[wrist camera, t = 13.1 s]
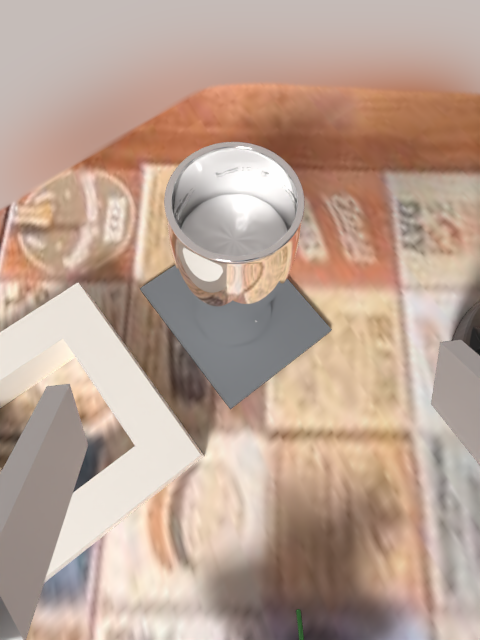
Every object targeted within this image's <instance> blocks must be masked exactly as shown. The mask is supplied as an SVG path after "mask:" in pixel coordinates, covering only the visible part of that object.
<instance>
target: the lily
mask: <svg viewBox="0 0 480 640" xmlns="http://www.w3.org/2000/svg"><path fill="white" fill-rule="evenodd" d="M296 614H297V623H298V633H299V640H304V636H303V626H302V618H301V611H300V610H299V609H297V610H296Z"/></svg>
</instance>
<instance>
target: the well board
mask: <svg viewBox="0 0 480 640" xmlns="http://www.w3.org/2000/svg"><path fill="white" fill-rule="evenodd" d="M75 357H76V359H77V360H78V362H79V363H80V364H81V366H82V367H83V369H84V370H85V372H86V373H87V375H88V376H89V378H90V379H91V381H92V382H93V384H94V385H95V387H96V388H97V390H98V391H99V393H100V394H101V396H102V397H103V399H104V400H105V402H106V403H107V405H108V406H109V408H110V409H111V411H112V412H113V414H114V415H115V417H116V418H117V420H118V421H119V423H120V424H121V426H122V427H123V429H124V430H125V432H126V433H127V435H128V436H129V438H130V439H131V441H132V442H133V444H134V445H135V446H134V447H133V448H132V449H130V450H129V451H128V452H126V453H125V454H124V455H122V456H121V457H120V458H118V459H117V460H116V461H114V462H113V463H112V464H110V465H109V466H108V467H106V468H105V469H104V470H102V471H101V472H100V473H99V474H97V475H96V476H95V477H93V478H92V479H91V480H89V481H88V482H87V483H85V484H84V485H83V486H81V487H80V488H79V489H77V490H76V491H75V492H73V494H72V497H71V500H70V503H69V506H68V510H67V513H66V516H65V519H64V522H63V525H62V528H61V531H60V535H59V538H58V541H57V544H56V547H55V550H54V553H53V556H52V560H51V563H50V566H49V569H48V572H47V575H46V578H45V581H44V583H45V582H46V581H47V580H48V579H50V578H51V577H52V576H54V575H55V574H56V573H57V572H59V571H60V570H61V569H62V568H64V567H65V566H66V565H67V564H69V563H70V562H71V561H72V560H74V559H75V558H76V557H77V556H79V555H80V554H81V553H83V552H84V551H85V550H86V549H88V548H89V547H90V546H91V545H93V544H94V543H95V542H96V541H98V540H99V539H100V538H101V537H103V536H104V535H105V534H107V533H108V532H109V531H110V530H112V529H113V528H114V527H115V526H117V525H118V524H119V523H120V522H122V521H123V520H124V519H125V518H127V517H128V516H129V515H130V514H132V513H133V512H134V511H136V510H137V509H138V508H139V507H141V506H142V505H143V504H144V503H146V502H147V501H148V500H149V499H151V498H152V497H153V496H154V495H156V494H157V493H158V492H160V491H161V490H162V489H163V488H165V487H166V486H167V485H168V484H170V483H171V482H172V481H173V480H175V479H176V478H177V477H178V476H180V475H181V474H182V473H183V472H185V471H186V470H187V469H189V468H190V467H191V466H192V465H194V464H195V463H196V462H197V461H199V460H200V459H201V458H202V457H204V454H203V453H202V452H201V450H200V449H199V447H198V446H197V445H196V443H195V442H194V440H193V439H192V438H191V436H190V435H189V433H188V432H187V431H186V429H185V428H184V426H183V425H182V424H181V422H180V421H179V419H178V418H177V417H176V415H175V414H174V412H173V411H172V410H171V408H170V407H169V405H168V404H167V403H166V401H165V400H164V398H163V397H162V396H161V394H160V393H159V391H158V390H157V388H156V387H155V386H154V384H153V383H152V381H151V380H150V379H149V377H148V376H147V374H146V373H145V372H144V370H143V369H142V367H141V366H140V365H139V363H138V362H137V360H136V359H135V358H134V356H133V355H132V353H131V352H130V351H129V349H128V348H127V346H126V345H125V344H124V342H123V341H122V339H121V338H120V337H119V335H118V334H117V332H116V331H115V330H114V328H113V327H112V325H111V324H110V323H109V321H108V320H107V318H106V317H105V316H104V314H103V313H102V311H101V310H100V309H99V307H98V306H97V304H96V303H95V302H94V300H93V299H92V298H91V297H90V296H89V295H88V293H87V292H86V291H85V290H84V289H83V287H82V286H81V285H80V284H79V283H76V284H75V285H73V286H71V287H70V288H68V289H67V290H65V291H64V292H62V293H61V294H59V295H57V296H56V297H54V298H53V299H51V300H50V301H48V302H47V303H45V304H43V305H42V306H40V307H39V308H37V309H36V310H34V311H33V312H31V313H29V314H28V315H26V316H25V317H23V318H22V319H20V320H19V321H17V322H15V323H14V324H12V325H11V326H9V327H8V328H6V329H4V330H3V331H1V332H0V408H2V407H3V406H4V405H6V404H7V403H9V402H10V401H12V400H13V399H15V398H16V397H18V396H19V395H21V394H22V393H24V392H25V391H26V390H28V389H29V388H31V387H32V386H34V385H35V384H37V383H38V382H40V381H41V380H43V379H44V378H46V377H47V376H48V375H50V374H51V373H53V372H54V371H56V370H57V369H59V368H60V367H62V366H63V365H65V364H66V363H68V362H69V361H70V360H72V359H73V358H75ZM1 471H2V470H1V468H0V473H1Z"/></svg>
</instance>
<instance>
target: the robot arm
mask: <svg viewBox="0 0 480 640" xmlns="http://www.w3.org/2000/svg"><path fill="white" fill-rule="evenodd" d="M431 405H432V406H433V407H434V408H435V410H436V411H437V412H438V413H439V415H440V416H441V417H442V418H443V420H444V421H445V422H446V423H447V425H448V426H449V427H450V428H451V430H452V431H453V432H454V433H455V435H456V436H457V437H458V438H459V440H460V441H461V442H462V443H463V445H464V446H465V447H466V448H467V450H468V451H469V452H470V453H471V455H472V456H473V457H474V459H475V460H476V461H477V462H478V464H479V465H480V301H478V302H477V303H476V304H475V305H474V306H473V307H471V309H470V310H469V311H468V312H467V313H466V314H465V316H464V317H463V318H462V320H461V322H460V323H459V325H458V327H457V330H456V332H455V335H454V338H453V341H445V342H440V348H439V355H438V361H437V368H436V374H435V381H434V388H433V394H432V401H431ZM87 447H88V443H87V440H86V437H85V433H84V430H83V427H82V423H81V420H80V417H79V413H78V410H77V407H76V403H75V400H74V397H73V393H72V390H71V387H70V384H64V385H55V386H47V387H46V389H45V391H44V393H43V395H42V397H41V399H40V400H39V402H38V404H37V406H36V408H35V410H34V412H33V413H32V415H31V417H30V419H29V421H28V423H27V425H26V426H25V428H24V430H23V432H22V434H21V436H20V438H19V440H18V441H17V443H16V445H15V447H14V449H13V451H12V453H11V454H10V456H9V458H8V460H7V462H6V464H5V466H4V467H3V469H2V471H1V473H0V640H26V638H27V634H28V631H29V628H30V625H31V622H32V619H33V616H34V613H35V609H36V606H37V603H38V600H39V597H40V594H41V591H42V588H43V585H44V581H45V578H46V575H47V572H48V569H49V566H50V563H51V560H52V556H53V553H54V550H55V547H56V544H57V541H58V538H59V535H60V531H61V528H62V525H63V522H64V519H65V516H66V513H67V510H68V506H69V503H70V500H71V497H72V494H73V491H74V488H75V485H76V482H77V478H78V475H79V472H80V469H81V466H82V463H83V460H84V457H85V453H86V450H87Z"/></svg>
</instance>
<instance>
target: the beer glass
mask: <svg viewBox="0 0 480 640" xmlns="http://www.w3.org/2000/svg"><path fill="white" fill-rule="evenodd" d="M164 204H165V212H166V216H167V225H168V233H169V241H170V246H171V251H172V256H173V259H174V262H175V265H176V268H177V271H178V273H179V276H180V278H181V280H182V281H183V283H184V285H185V286H186V288H187V290H188V291H189V292H190V294H191V295H192V296H193V298H194V299H195V305H194V312H195V318H196V321H197V323H198V325H199V327H200V329H201V330H202V331H203V333H204V334H205V335H206V336H208V337H209V338H210V339H212V340H213V341H215V342H218V343H220V344H224V345H230V346H236V345H242V344H246V343H248V342H251V341H253V340H254V339H256V338H257V337H258V336H260V335H261V334H262V333H263V331H264V330H265V329H266V327H267V325H268V323H269V321H270V317H271V300H272V299H273V298H274V297H275V296H276V294H277V293H278V292H279V290H280V289H281V287H282V286H283V284H284V283H285V281H286V279H287V277H288V275H289V273H290V270H291V268H292V265H293V262H294V259H295V256H296V251H297V247H298V243H299V236H300V230H301V221H302V218H303V214H304V206H305V200H304V192H303V188H302V185H301V183H300V180H299V178H298V176H297V175H296V173H295V172H294V170H293V169H292V168H291V167H290V165H289V164H288V163H287V162H286V161H284V160H283V159H282V158H281V157H280V156H278V155H277V154H275V153H273V152H272V151H270V150H268V149H266V148H263V147H260V146H257V145H254V144H250V143H243V142H225V143H218V144H214V145H210V146H207V147H205V148H202V149H200V150H198V151H196V152H195V153H193V154H191V155H190V156H188V157H187V158H186V159H185V160H184V161H183V162H181V164H180V165H179V166H178V167H177V168H176V169H175V171H174V172H173V174H172V175H171V177H170V179H169V182H168V184H167V187H166V192H165V200H164Z"/></svg>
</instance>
